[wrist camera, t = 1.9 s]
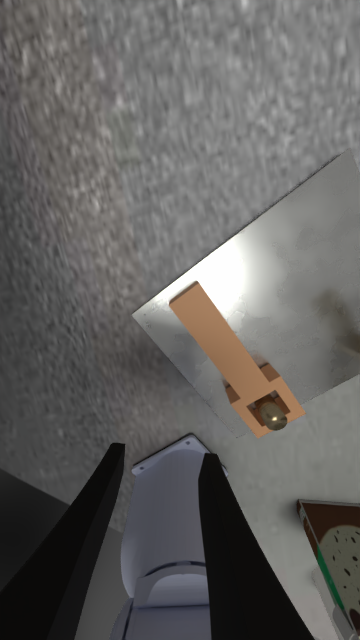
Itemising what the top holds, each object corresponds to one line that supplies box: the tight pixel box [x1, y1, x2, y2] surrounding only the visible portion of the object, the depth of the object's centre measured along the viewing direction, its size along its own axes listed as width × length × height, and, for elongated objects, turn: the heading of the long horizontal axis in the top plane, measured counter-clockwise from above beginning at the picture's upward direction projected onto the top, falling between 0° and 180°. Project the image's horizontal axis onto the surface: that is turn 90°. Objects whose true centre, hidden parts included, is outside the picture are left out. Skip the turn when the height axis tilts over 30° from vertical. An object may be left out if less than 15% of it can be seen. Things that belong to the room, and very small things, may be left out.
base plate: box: [132, 148, 360, 438], centre depth 15 cm, size 20×18×4 cm
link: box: [169, 281, 306, 438], centre depth 16 cm, size 16×5×2 cm, turn 37°
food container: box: [297, 499, 360, 640], centre depth 21 cm, size 12×6×10 cm, turn 84°
